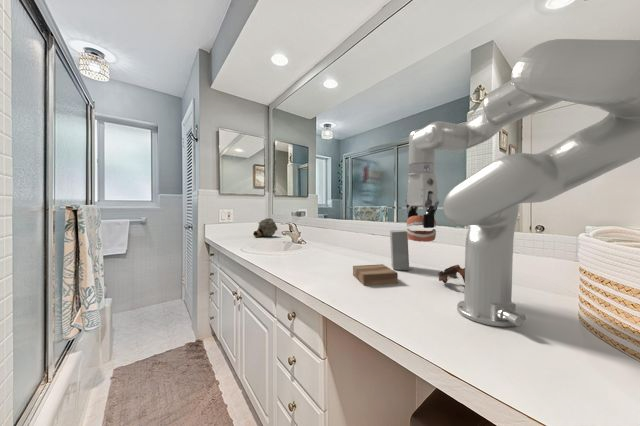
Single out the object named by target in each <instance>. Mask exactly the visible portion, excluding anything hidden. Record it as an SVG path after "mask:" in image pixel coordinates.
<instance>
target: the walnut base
mask: <svg viewBox="0 0 640 426" xmlns="http://www.w3.org/2000/svg"><path fill="white" fill-rule="evenodd" d="M352 276H353V277H354V278H355V279H356V280H357V281H359V283H360V284H361V285H362V286H365V287H366V286H367V287H368V286H377V285H379V286H380V285H381V286H382V285H391V284H393V285H394V284H398V282H399V281H398V280H399V279H398V278H399V277H398V272H397V271H396V270H393V268H390V267H388V266H387V265H385V264H383V263H382V264H381V263H379V264H365V265H364V264H363V265H361V264H360V265H352Z"/></svg>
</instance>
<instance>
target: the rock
mask: <svg viewBox="0 0 640 426" xmlns="http://www.w3.org/2000/svg"><path fill="white" fill-rule="evenodd" d="M278 229H279V228H278V226H277V224H276V222H275V220H273V218H271V217H269V218H265V219H262V220H260V221H259V222H258V228H257V230H254V231H253V233H252V234H253V237H255V238H260V237H261V238H262V237H268V238H269V237H272V236H274V235H275V233H276V231H278Z"/></svg>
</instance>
